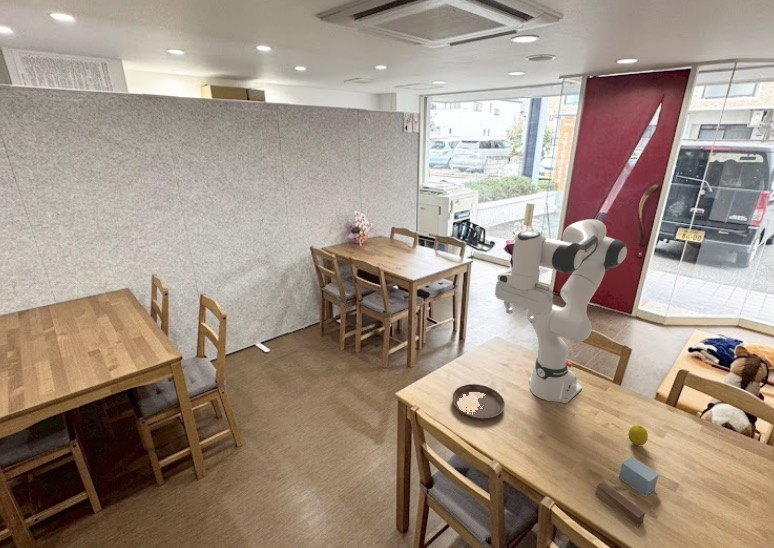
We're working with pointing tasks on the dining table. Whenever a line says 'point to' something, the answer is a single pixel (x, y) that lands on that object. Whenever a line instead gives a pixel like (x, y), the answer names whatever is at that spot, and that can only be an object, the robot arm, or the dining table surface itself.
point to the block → (638, 476)
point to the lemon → (638, 435)
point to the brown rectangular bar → (620, 503)
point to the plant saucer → (481, 401)
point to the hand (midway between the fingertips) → (520, 317)
